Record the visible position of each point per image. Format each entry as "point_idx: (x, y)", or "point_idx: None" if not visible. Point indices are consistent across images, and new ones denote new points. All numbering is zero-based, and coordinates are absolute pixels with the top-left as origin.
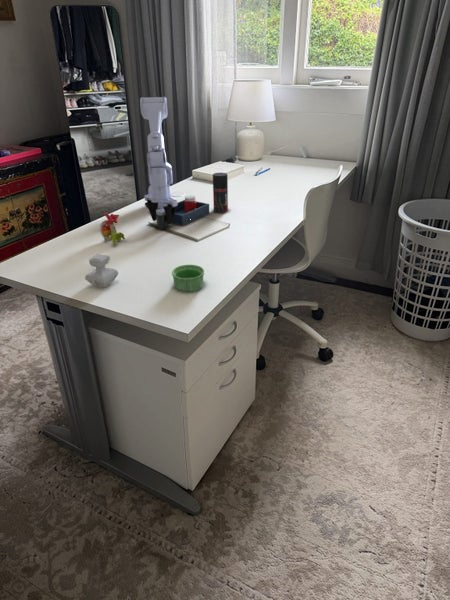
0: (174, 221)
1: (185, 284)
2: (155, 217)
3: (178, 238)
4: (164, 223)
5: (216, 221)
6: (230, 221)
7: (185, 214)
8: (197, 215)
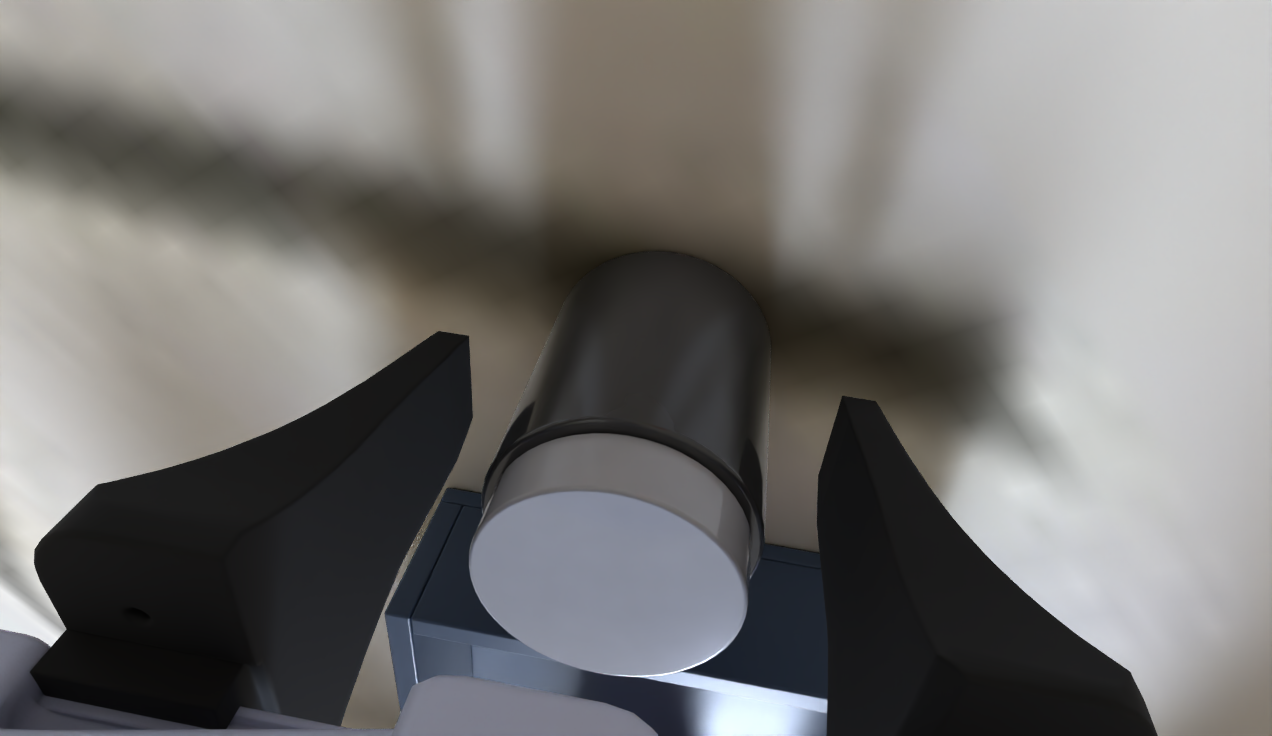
0: None
1: None
2: (834, 476)
3: (43, 3)
4: (546, 345)
5: None
6: None
7: (396, 663)
8: None
